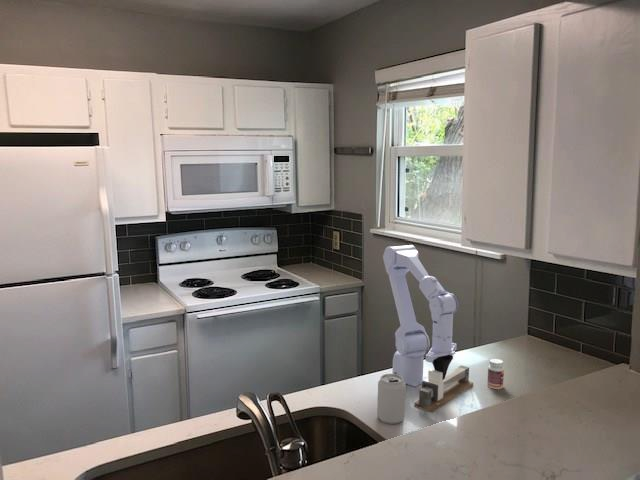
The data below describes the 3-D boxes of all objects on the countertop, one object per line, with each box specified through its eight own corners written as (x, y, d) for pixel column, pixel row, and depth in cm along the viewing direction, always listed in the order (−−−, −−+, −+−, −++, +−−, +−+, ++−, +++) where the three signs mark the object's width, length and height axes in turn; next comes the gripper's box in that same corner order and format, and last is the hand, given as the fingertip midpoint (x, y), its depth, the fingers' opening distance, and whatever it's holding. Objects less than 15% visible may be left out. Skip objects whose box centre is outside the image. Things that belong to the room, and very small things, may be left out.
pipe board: (414, 405, 154) (414, 388, 153) (455, 379, 172) (456, 364, 171) (432, 412, 150) (432, 394, 149) (473, 385, 168) (473, 368, 167)
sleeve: (423, 396, 156) (424, 371, 155) (428, 392, 158) (429, 368, 157) (437, 401, 153) (438, 376, 152) (442, 397, 155) (443, 373, 154)
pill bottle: (504, 390, 165) (505, 364, 163) (488, 388, 166) (489, 363, 164) (502, 383, 169) (503, 358, 168) (486, 382, 170) (487, 357, 169)
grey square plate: (421, 397, 155) (422, 381, 155) (423, 396, 156) (423, 380, 155) (435, 402, 152) (436, 386, 151) (437, 401, 153) (438, 385, 152)
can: (386, 427, 141) (387, 385, 139) (372, 415, 148) (373, 374, 146) (409, 422, 144) (411, 380, 142) (395, 410, 151) (396, 370, 149)
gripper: (441, 344, 148) (439, 390, 150) (466, 332, 158) (464, 375, 160) (420, 338, 153) (418, 383, 155) (445, 326, 163) (443, 368, 165)
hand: (440, 378), depth 158 cm, fingers closed
